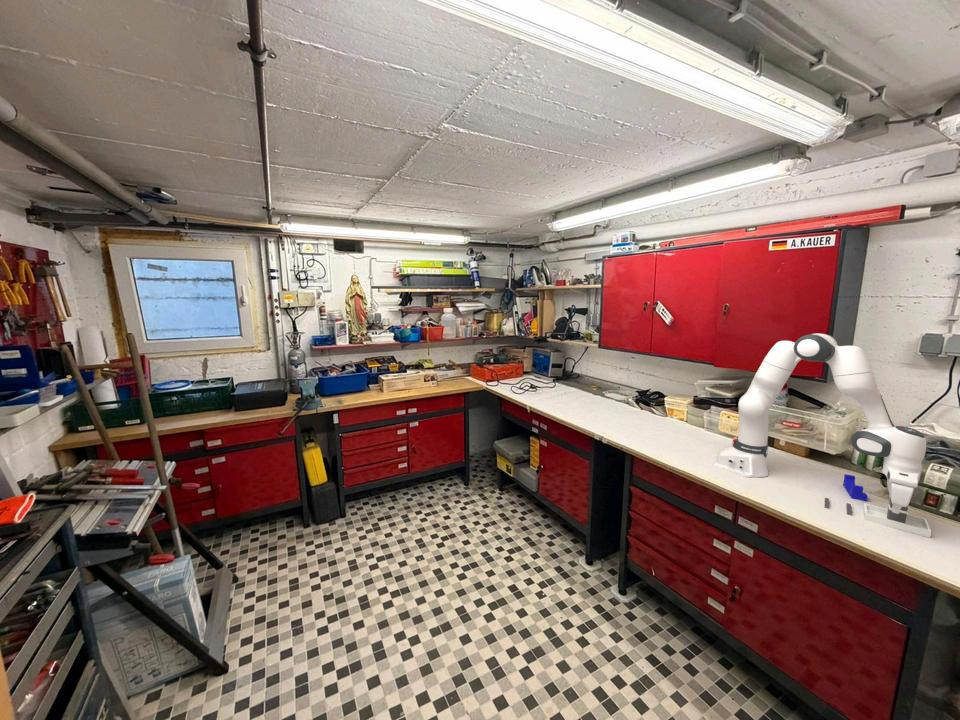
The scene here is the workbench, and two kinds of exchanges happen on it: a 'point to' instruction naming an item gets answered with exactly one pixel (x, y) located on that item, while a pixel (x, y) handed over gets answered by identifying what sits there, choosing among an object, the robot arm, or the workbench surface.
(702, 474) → the workbench surface
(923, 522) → the tray
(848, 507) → the holder
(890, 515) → the grey block
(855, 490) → the blue stepped block
